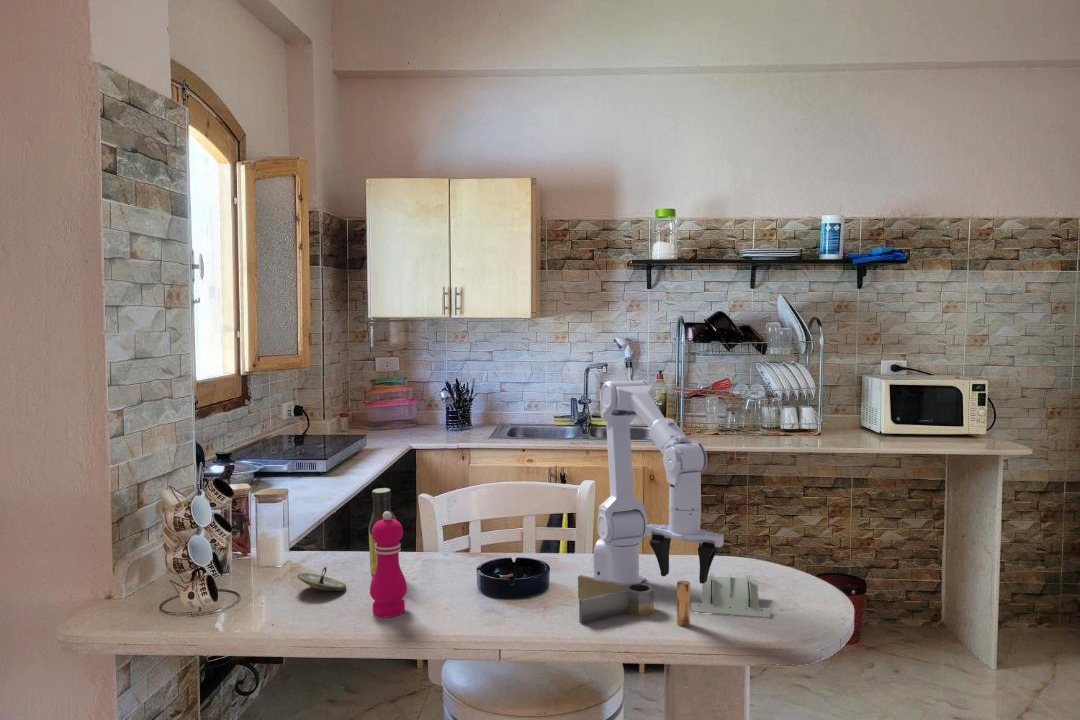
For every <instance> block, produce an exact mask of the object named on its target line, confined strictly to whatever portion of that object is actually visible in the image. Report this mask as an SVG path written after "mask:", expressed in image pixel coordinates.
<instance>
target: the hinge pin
mask: <svg viewBox="0 0 1080 720" xmlns="http://www.w3.org/2000/svg"><path fill="white" fill-rule="evenodd" d="M676 582H677V583H676V625H677V624H678V625H679V627H681V628H686V626H687V627H690V626H691V582H690V581H689V580H678V581H676ZM678 625H677V626H678Z"/></svg>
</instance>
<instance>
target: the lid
mask: <svg viewBox="0 0 1080 720" xmlns="http://www.w3.org/2000/svg"><path fill="white" fill-rule="evenodd" d="M326 573H327V566H324V567H323V569H322V572H321V575H319V574H315V573H310V572H309V573H308V572H302V573H298V574H297V579H298V580H300V581H301V582H303V583H304V584H305V585H308V586H310V587H311V588H314V589H316V590H322V591H325V592H326V591H327V592H328V591H329V592H333V591H338V592H339V591H340V592H341V591H345V590H346V589H347V586H346V584H345V583H343V582H342V581H339V580H336V579H333V578H331V577H328V576H325V574H326Z"/></svg>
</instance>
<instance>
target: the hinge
mask: <svg viewBox="0 0 1080 720" xmlns="http://www.w3.org/2000/svg"><path fill="white" fill-rule="evenodd" d="M577 598H578V602H579V603H578V606H579V608H578V610H579V613H578V615H579V619H578V621H579V624H581V625H586V624H589V623H593V622H598V621H603V620H607V619H611V618H617V617H620V616H625V615H633V616H638V617H640V616H641V617H642V616H649V615H651V614H652V613H654V612H655V588H654V586H652V585H651V584H648V583H642V582H641V583H632V584H628V585H627V584H622V583H617V582H612V581H607V580H602V579H597V578H594V577H591V576H586V575H581V574H580V575H578V577H577ZM653 611H654V612H653Z"/></svg>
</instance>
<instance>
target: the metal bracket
mask: <svg viewBox="0 0 1080 720" xmlns="http://www.w3.org/2000/svg"><path fill="white" fill-rule="evenodd" d="M745 576H746V577H745V578H743V577H742V578H741V577H731V572H730V571H729V572H728V577H726V576H714V575H712V573H711V572H709V575H708V578H707V581H706V582H705V583H704V584H702V583H701V584H702V585H701V602H692V603H691V605H690V613H691V612H698V613H713V614H712V615H715V614H722V615H721V616H728V615H733V616H732V617H741V616H744V618H753V619H758V618H762V619H761V620H770V619H771V617H772V616H771V609H770V608H769V607H760V600H759V599H760V598H759V587H758V579H755V578H751V575H750V574H749V575H747V574H746V575H745ZM763 618H764V619H763Z"/></svg>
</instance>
